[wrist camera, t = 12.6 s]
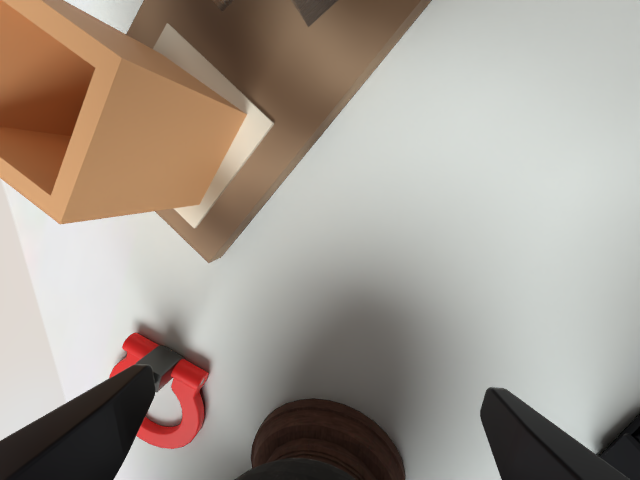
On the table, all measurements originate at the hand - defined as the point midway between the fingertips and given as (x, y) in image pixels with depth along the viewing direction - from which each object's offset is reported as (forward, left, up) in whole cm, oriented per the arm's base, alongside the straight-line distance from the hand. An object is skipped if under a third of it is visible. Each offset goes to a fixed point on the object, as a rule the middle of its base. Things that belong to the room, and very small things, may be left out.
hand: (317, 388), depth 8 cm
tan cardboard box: (+13, -3, -9) cm, 16 cm away
